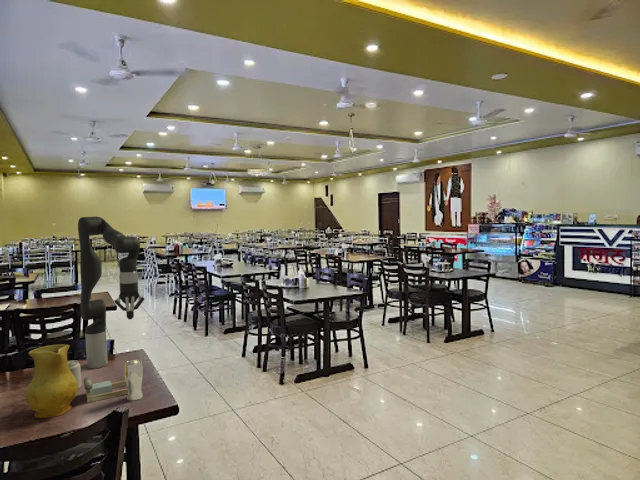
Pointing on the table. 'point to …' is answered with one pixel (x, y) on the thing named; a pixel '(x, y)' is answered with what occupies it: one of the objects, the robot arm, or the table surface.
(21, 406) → the table surface
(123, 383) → the bay
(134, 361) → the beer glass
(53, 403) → the pitcher
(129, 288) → the robot arm
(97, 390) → the pale teal block
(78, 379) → the can
